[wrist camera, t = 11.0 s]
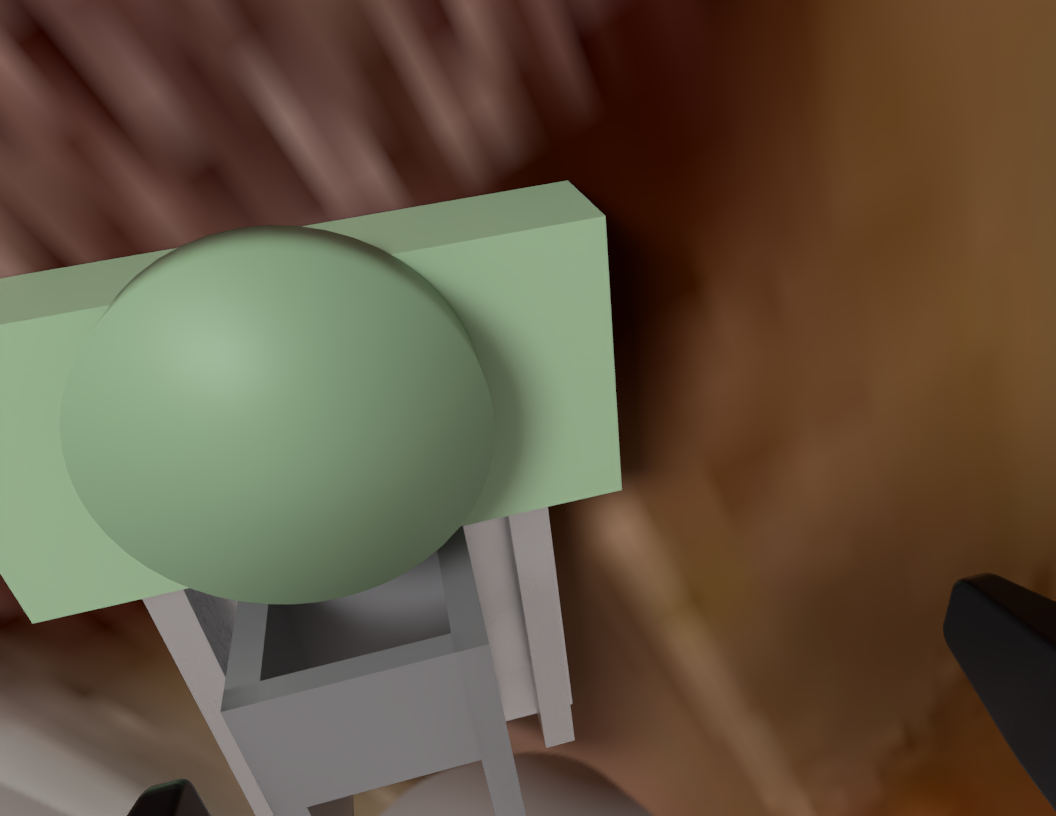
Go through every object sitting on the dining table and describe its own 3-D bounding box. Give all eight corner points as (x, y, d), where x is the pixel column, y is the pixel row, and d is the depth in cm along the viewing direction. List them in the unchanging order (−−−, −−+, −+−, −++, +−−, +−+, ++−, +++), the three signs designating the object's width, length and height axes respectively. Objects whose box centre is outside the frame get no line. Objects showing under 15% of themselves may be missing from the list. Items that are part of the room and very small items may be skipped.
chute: (459, 510, 22) (488, 643, 17) (503, 713, 26) (534, 857, 22) (244, 560, 21) (220, 712, 17) (328, 759, 26) (326, 917, 21)
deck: (563, 137, 17) (627, 184, 14) (610, 684, 27) (654, 800, 23) (-93, 244, 16) (-232, 334, 12) (210, 787, 26) (187, 931, 22)
